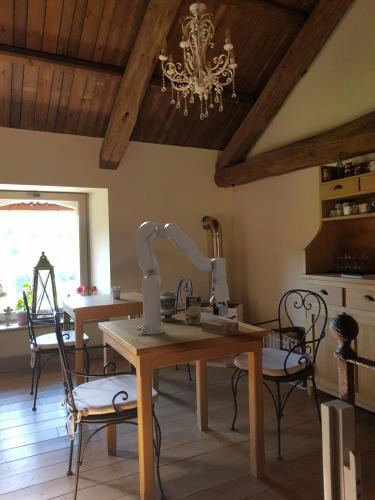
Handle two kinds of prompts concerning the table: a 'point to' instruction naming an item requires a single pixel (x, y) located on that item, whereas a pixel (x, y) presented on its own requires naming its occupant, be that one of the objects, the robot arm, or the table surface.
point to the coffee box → (192, 309)
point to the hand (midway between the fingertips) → (220, 313)
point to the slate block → (221, 310)
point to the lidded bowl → (207, 314)
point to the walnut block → (220, 326)
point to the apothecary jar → (168, 305)
